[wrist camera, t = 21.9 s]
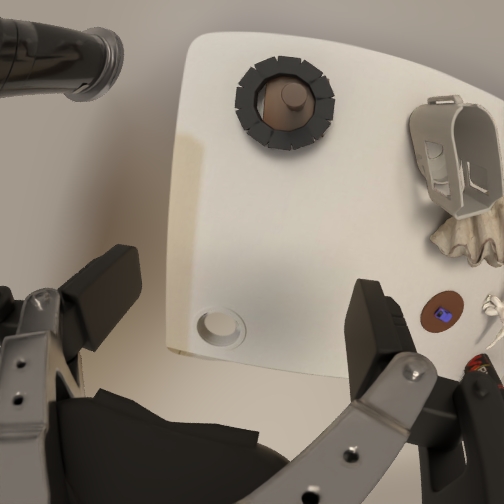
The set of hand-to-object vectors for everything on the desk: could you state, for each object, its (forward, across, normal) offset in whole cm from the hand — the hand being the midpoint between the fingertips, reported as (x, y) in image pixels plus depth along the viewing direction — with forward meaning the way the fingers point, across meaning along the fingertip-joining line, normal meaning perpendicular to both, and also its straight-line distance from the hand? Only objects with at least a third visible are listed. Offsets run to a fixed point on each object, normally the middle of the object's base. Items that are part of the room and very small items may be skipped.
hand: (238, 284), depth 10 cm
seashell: (+28, -27, +2) cm, 39 cm away
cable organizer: (+28, -18, -5) cm, 34 cm away
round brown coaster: (+28, -28, +18) cm, 44 cm away
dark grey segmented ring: (+26, +1, -8) cm, 27 cm away
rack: (+28, 0, -8) cm, 29 cm away
